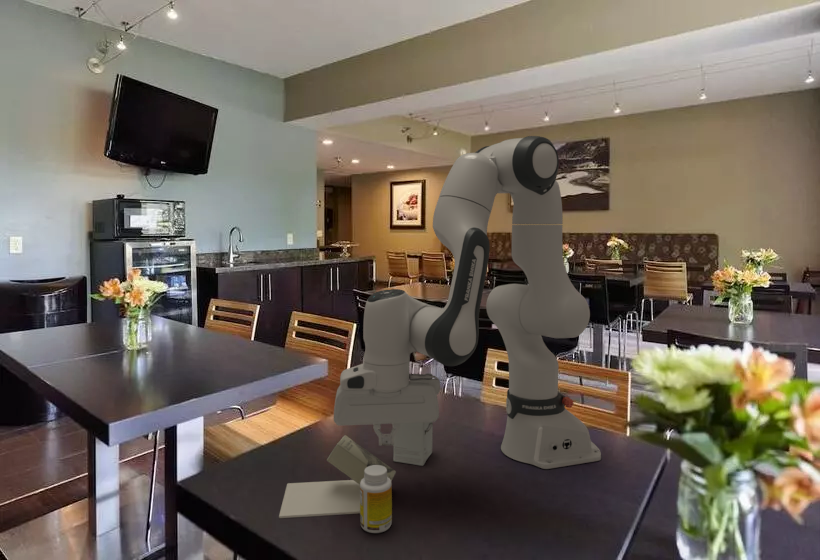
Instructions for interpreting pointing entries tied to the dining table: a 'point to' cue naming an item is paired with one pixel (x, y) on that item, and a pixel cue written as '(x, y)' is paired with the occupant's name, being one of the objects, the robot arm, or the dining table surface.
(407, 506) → the dining table surface
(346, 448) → the box
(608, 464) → the dining table surface
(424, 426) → the supplement box
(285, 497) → the mat
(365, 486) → the supplement bottle
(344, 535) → the dining table surface
